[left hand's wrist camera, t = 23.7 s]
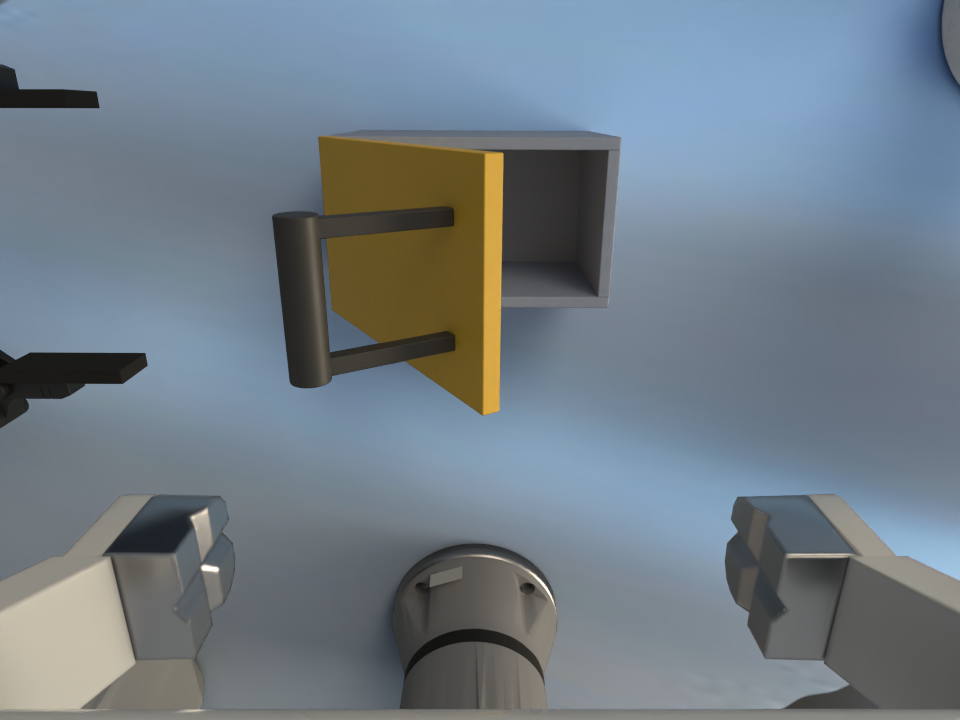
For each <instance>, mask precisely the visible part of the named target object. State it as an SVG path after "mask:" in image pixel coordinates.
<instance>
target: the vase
mask: <svg viewBox="0 0 960 720" xmlns="http://www.w3.org/2000/svg"><path fill="white" fill-rule="evenodd" d="M203 701H204V677H203V675H202V673H201V671H200V669H199V667H198V665H197V663H196V661H195V660H194V659H171V660H137V661H136V664H135V665H134V666H132V667H131V668H130V669H129V670H127V671H126V672H125V673H124V674H122V675H121V676H120V677H119V678H117V679H116V680H115V681H114V682H112V683H111V684H110V685H109V686H107V687H106V688H105V689H104V690H103V691H101V692H100V693H99V694H98V695H96V696H95V697H94V698H93V699H91V700H90V701H89V702H88V703H86V704H85V705H84V706H83V707H81V708H80V709H200V708H201V706H202V703H203Z"/></svg>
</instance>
